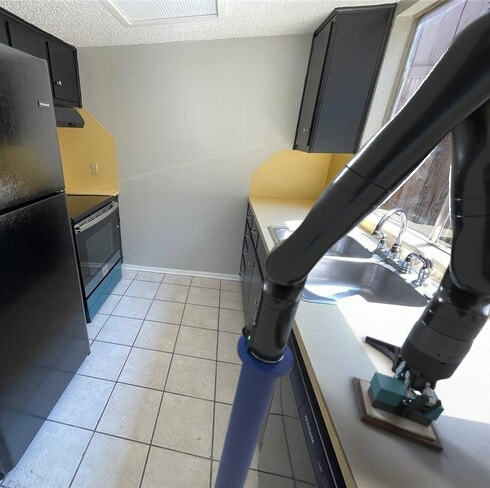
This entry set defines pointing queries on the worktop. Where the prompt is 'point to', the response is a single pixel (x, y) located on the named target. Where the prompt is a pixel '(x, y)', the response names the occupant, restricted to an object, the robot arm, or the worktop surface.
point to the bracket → (383, 347)
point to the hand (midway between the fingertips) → (397, 404)
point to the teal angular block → (396, 398)
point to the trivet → (393, 420)
